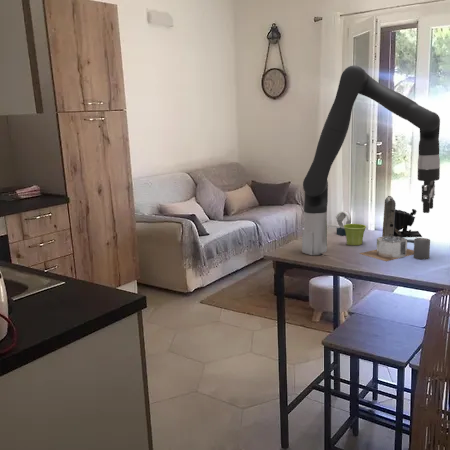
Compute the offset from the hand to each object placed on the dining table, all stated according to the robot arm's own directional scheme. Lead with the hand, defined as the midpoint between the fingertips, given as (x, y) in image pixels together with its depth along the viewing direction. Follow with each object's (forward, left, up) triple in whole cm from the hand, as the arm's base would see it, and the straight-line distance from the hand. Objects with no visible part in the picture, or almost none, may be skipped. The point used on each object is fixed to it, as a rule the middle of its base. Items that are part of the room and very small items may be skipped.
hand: (428, 210), depth 186 cm
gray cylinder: (-2, +1, -19) cm, 19 cm away
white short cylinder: (-7, +11, -18) cm, 22 cm away
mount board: (-6, +12, -19) cm, 23 cm away
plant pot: (-6, +32, -19) cm, 37 cm away
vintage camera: (+14, +24, -19) cm, 34 cm away
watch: (+5, +50, -19) cm, 53 cm away
